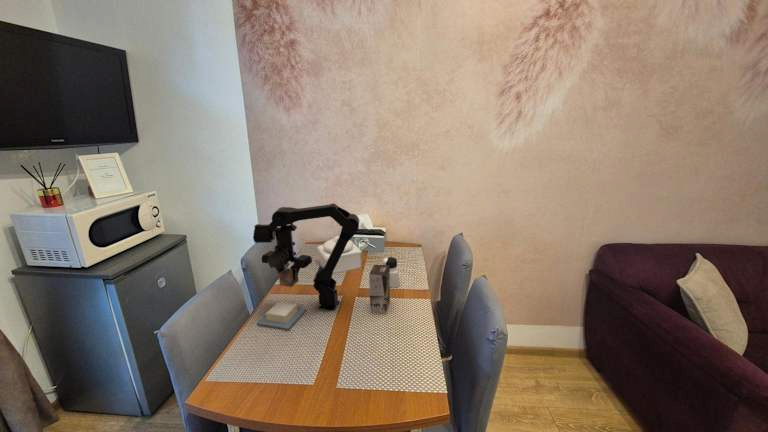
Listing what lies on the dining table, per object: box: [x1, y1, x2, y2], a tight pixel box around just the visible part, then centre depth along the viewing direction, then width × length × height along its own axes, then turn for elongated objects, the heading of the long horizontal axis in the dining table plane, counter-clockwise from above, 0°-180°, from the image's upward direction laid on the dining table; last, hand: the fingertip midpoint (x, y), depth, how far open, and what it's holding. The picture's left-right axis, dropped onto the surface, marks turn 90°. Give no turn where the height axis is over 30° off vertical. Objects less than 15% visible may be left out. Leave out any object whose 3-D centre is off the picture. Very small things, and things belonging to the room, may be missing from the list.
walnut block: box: [278, 267, 300, 288], centre depth 126 cm, size 5×5×5 cm
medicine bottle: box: [382, 256, 400, 288], centre depth 144 cm, size 7×7×12 cm
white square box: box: [316, 235, 363, 275], centre depth 164 cm, size 18×18×16 cm
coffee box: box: [368, 264, 391, 315], centre depth 126 cm, size 9×6×16 cm
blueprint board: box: [256, 301, 308, 332], centre depth 122 cm, size 13×13×4 cm
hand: (288, 279), depth 126 cm, fingers closed on walnut block, 5 cm apart
